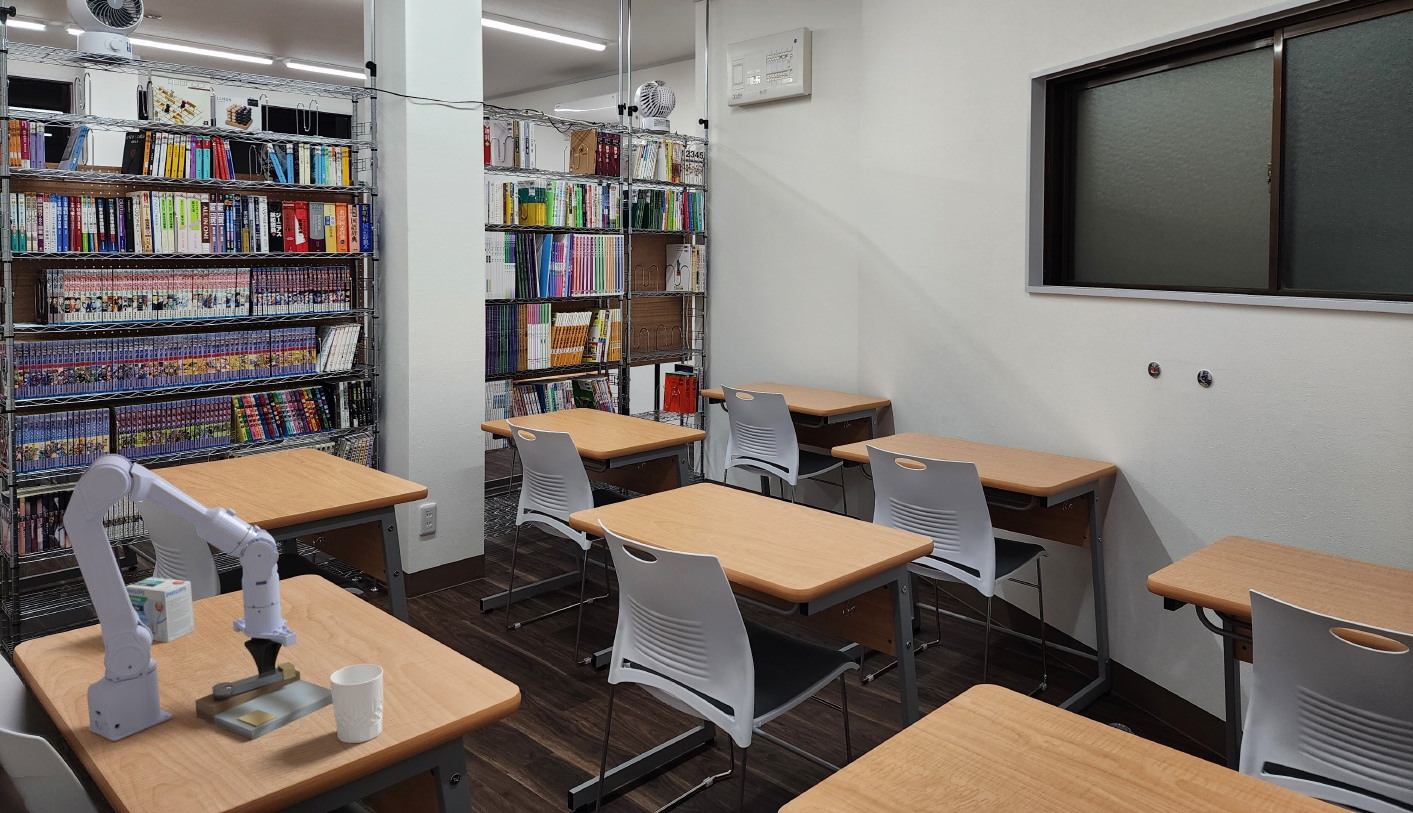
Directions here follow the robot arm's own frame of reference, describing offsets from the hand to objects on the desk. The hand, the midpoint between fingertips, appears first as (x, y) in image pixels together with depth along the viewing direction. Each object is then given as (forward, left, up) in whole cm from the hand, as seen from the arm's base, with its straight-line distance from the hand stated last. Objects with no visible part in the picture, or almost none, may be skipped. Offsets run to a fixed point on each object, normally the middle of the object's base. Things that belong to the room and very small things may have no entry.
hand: (267, 677), depth 161 cm
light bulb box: (+7, +45, -4) cm, 46 cm away
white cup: (-1, -25, -4) cm, 25 cm away
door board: (-3, -5, -3) cm, 7 cm away
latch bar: (-3, -1, 0) cm, 3 cm away
